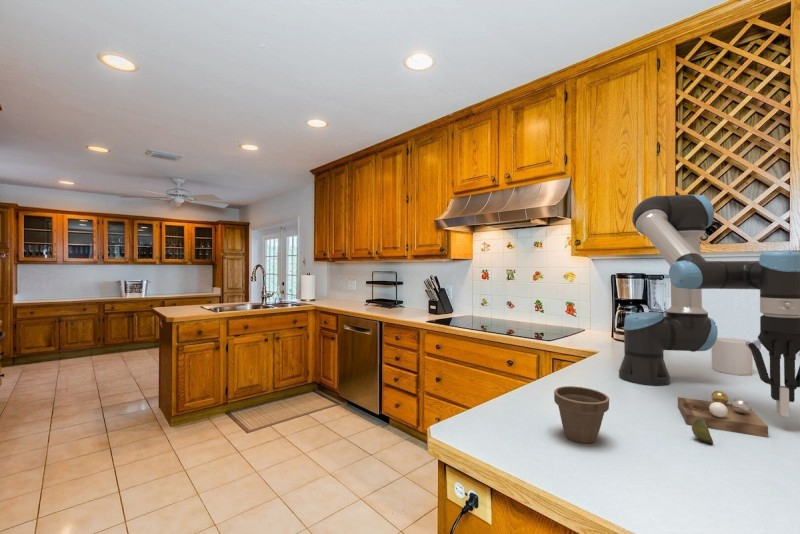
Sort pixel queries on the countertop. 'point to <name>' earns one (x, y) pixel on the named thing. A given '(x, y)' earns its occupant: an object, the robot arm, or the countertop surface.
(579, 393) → the flower pot
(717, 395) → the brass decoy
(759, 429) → the board
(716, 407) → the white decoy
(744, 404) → the steel ball
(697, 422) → the lime
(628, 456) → the countertop surface
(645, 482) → the countertop surface
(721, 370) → the cup
